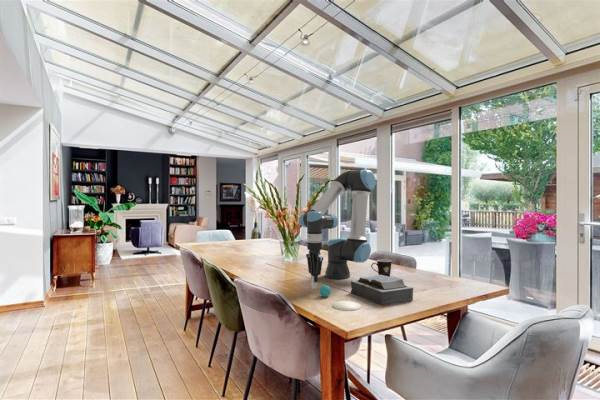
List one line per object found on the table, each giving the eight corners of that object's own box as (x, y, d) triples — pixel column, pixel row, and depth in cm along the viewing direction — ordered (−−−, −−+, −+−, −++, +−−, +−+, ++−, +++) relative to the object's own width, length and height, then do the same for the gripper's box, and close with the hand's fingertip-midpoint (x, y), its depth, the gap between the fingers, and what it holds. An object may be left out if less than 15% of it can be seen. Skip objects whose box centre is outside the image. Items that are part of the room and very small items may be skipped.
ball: (317, 295, 170) (317, 284, 170) (326, 294, 173) (326, 283, 173) (323, 298, 166) (323, 287, 166) (332, 297, 168) (332, 285, 168)
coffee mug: (392, 276, 213) (392, 259, 213) (391, 279, 205) (391, 262, 205) (372, 274, 217) (372, 258, 217) (371, 277, 209) (371, 261, 209)
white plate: (326, 304, 157) (326, 303, 157) (349, 300, 164) (349, 299, 164) (343, 312, 146) (343, 312, 146) (367, 307, 152) (367, 307, 152)
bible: (372, 307, 154) (372, 285, 154) (347, 291, 180) (347, 272, 180) (418, 303, 160) (418, 281, 160) (387, 288, 186) (387, 269, 186)
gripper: (301, 240, 181) (301, 286, 181) (315, 243, 170) (315, 292, 170) (313, 240, 185) (313, 284, 185) (327, 242, 174) (327, 290, 174)
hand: (314, 288), depth 178 cm, fingers closed
